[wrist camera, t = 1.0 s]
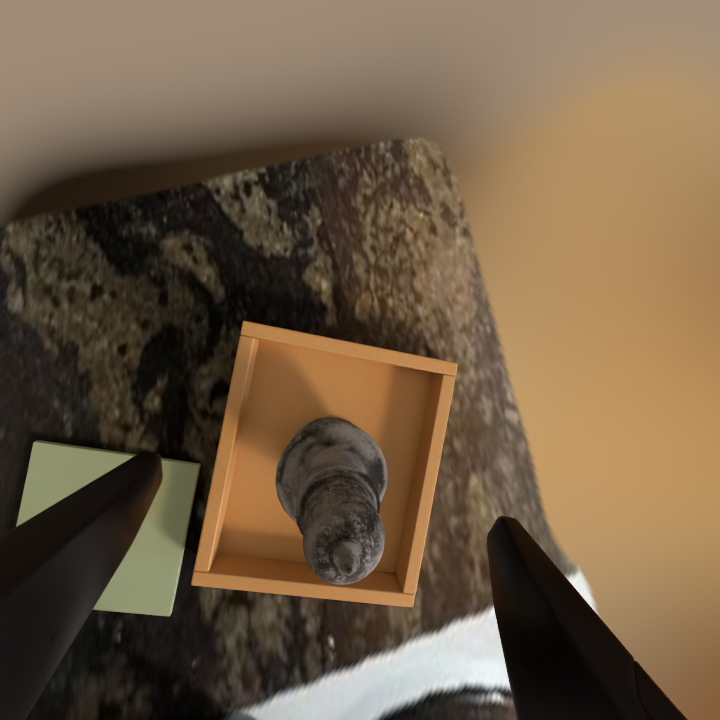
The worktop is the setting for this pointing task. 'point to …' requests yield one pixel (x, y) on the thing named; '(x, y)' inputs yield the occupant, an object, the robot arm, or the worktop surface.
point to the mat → (156, 535)
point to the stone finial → (335, 497)
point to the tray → (277, 428)
